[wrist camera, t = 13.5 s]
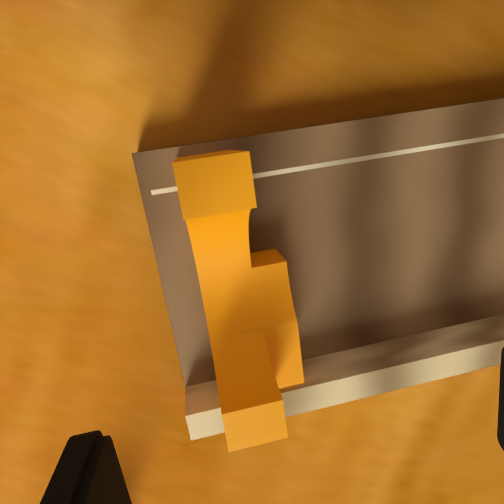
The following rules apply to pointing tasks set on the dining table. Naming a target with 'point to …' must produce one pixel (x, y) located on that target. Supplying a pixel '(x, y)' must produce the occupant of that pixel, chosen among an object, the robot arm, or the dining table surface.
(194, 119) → the dining table surface
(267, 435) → the pipe clamp
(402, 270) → the board
